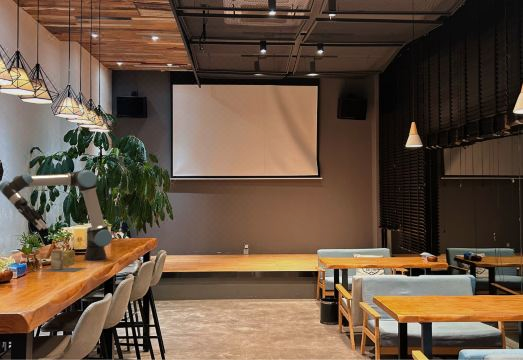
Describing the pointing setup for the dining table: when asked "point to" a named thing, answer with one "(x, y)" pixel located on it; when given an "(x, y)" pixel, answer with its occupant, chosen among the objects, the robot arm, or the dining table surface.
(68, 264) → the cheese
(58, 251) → the block
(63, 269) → the mat
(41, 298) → the dining table surface
